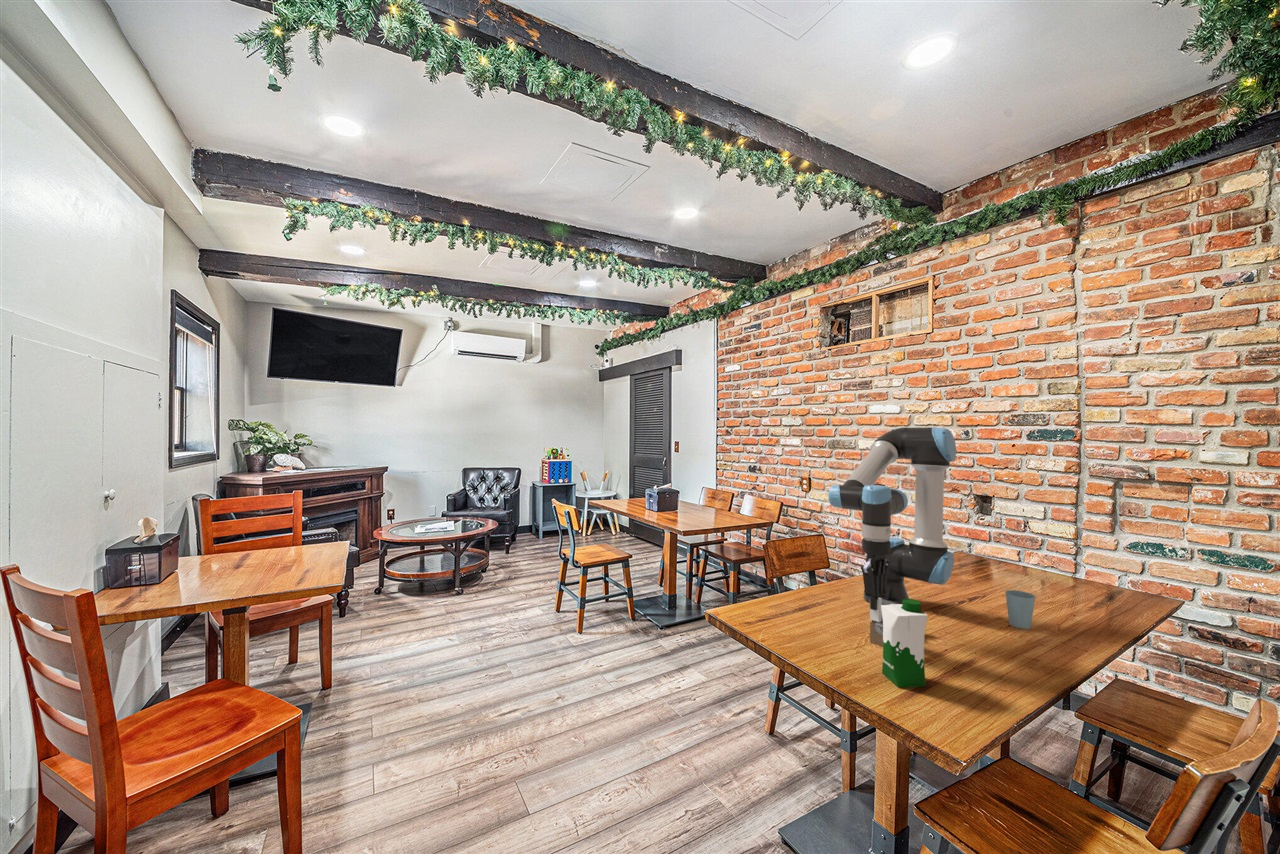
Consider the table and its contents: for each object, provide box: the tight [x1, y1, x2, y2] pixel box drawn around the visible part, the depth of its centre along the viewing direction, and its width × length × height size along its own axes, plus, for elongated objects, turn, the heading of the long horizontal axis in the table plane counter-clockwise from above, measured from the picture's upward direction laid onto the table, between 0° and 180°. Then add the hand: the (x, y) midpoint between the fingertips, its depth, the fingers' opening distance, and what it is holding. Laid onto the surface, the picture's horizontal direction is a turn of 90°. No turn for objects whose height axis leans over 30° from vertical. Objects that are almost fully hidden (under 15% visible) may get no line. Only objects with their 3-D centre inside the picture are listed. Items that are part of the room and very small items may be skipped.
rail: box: [869, 620, 883, 648], centre depth 147 cm, size 18×10×7 cm, turn 127°
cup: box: [1005, 589, 1036, 630], centre depth 157 cm, size 8×8×10 cm
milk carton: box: [881, 598, 929, 689], centre depth 122 cm, size 9×9×20 cm
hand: (875, 619), depth 139 cm, fingers closed
